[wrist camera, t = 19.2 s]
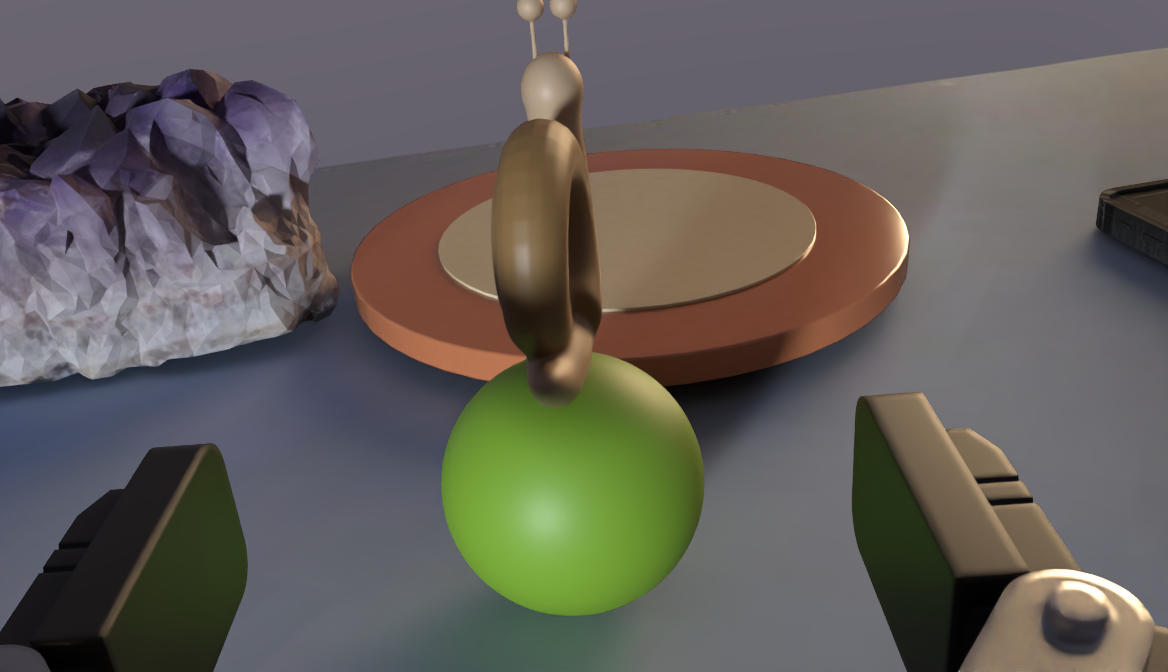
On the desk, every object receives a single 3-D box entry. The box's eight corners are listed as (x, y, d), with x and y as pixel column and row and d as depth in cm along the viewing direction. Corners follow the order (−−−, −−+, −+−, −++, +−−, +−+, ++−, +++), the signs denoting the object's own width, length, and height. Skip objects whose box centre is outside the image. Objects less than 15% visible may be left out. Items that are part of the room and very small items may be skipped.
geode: (-381, 510, 30) (-564, 146, 26) (-206, 373, 40) (-321, 102, 37) (362, 343, 34) (284, 8, 30) (342, 259, 44) (283, 4, 41)
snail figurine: (699, 483, 27) (682, -21, 22) (714, 671, 21) (696, 50, 16) (482, 490, 27) (413, -2, 22) (440, 677, 22) (332, 74, 16)
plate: (305, 436, 30) (293, 380, 30) (397, 205, 47) (391, 165, 47) (990, 386, 30) (996, 328, 29) (836, 171, 47) (837, 131, 46)
